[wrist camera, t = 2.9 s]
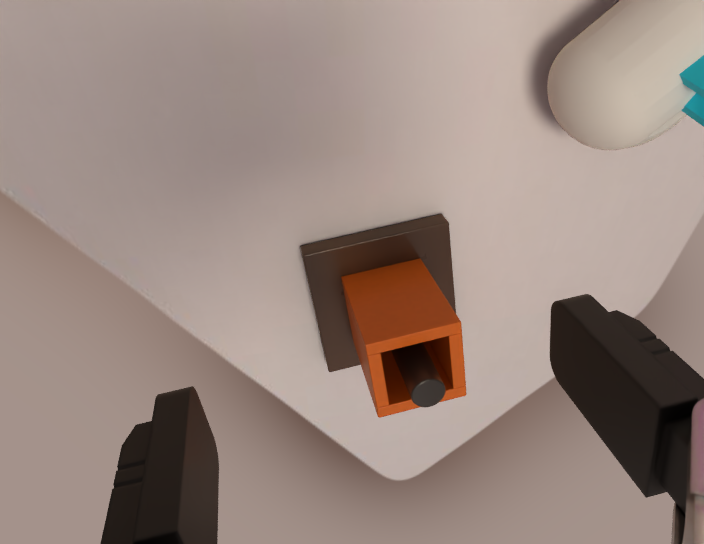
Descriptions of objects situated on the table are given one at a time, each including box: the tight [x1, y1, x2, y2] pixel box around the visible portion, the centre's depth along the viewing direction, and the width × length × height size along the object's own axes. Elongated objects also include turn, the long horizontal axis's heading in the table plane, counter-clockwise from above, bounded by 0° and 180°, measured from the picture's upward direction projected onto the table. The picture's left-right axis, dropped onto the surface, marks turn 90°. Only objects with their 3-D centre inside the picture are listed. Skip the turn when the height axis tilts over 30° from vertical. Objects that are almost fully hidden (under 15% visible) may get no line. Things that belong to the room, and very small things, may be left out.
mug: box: [547, 0, 704, 150], centre depth 35 cm, size 12×9×12 cm
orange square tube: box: [341, 258, 466, 417], centre depth 38 cm, size 6×6×8 cm
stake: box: [300, 214, 456, 407], centre depth 37 cm, size 10×10×12 cm
